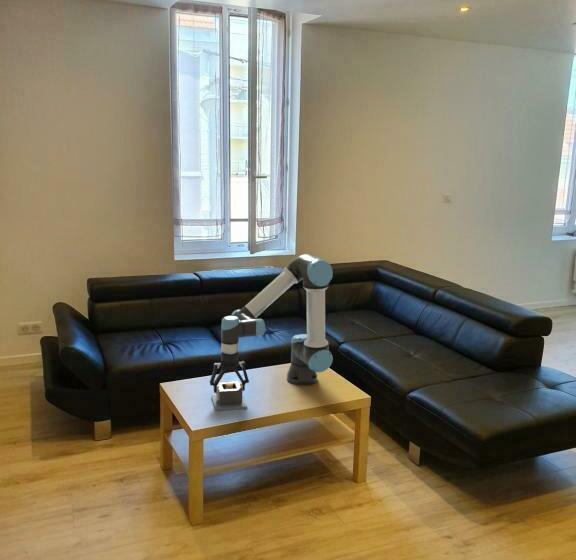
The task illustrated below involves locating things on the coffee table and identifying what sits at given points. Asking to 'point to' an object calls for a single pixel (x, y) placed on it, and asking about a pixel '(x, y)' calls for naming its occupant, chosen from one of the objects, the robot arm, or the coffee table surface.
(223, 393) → the hollow square block
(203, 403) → the coffee table surface
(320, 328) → the robot arm
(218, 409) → the keeper
